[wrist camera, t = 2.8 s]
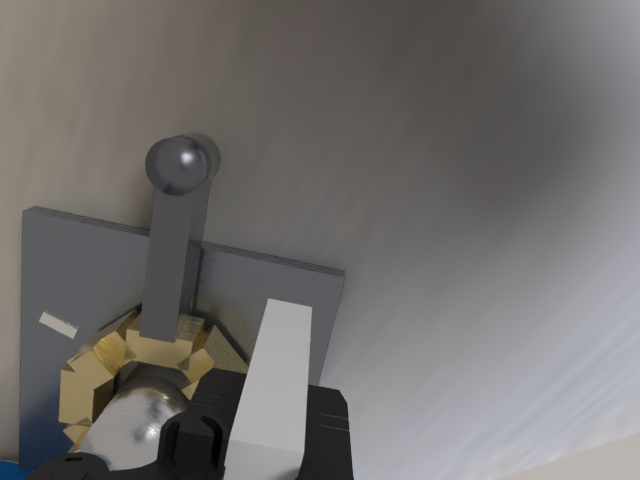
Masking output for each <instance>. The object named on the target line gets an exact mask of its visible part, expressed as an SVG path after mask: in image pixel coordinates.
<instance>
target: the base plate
mask: <svg viewBox="0 0 640 480" xmlns="http://www.w3.org/2000/svg"><path fill="white" fill-rule="evenodd" d="M149 237H150V230H146V229H142V228H137V227H132V226H127V225H122V224H118V223H113V222H108V221H103V220H99V219H94V218H89V217H84V216H79V215H75V214H70V213H65V212H60V211H55V210H51V209H46V208H41V207H36V206H34V207H32V208H29V209H26V210H23V222H22V291H21V361H20V430H19V468H20V469H26V470H31V471H35V470H36V469H37V468H38V467H39V466H41V465H42V464H44V463H46V462H47V461H49V460H50V459H52V458H54V457H57V456H60V455H63V454H66V453H68V451H69V450H70V449H71V447H72V446H73V445H74V442H73V441H72V440H71V439H70V438H69V437H68V436H67V435H66V434H65V433H64V432H63V430H64V429H65V427H66V426H67V425H68V423H63V422H59V405H60V384H61V370H62V368H63V367H64V366H65V365H66V364H67V362H66V361H67V360H68V359H69V358H70V357H71V356H72V355H73V354H74V353H75V352H76V351H77V350H78V349H79V348H80V347H81V346H82V345H83V344H84V343H85V342H86V341H87V340H88V339H89V338H90V337H91V336H93V335H95V334H96V333H98V332H99V331H101V330H103V329H104V328H106V327H107V326H109V325H110V324H112V323H114V322H115V321H117V320H118V319H120V318H122V317H123V316H125V315H126V314H128V313H130V312H131V311H133V310H134V309H136V310H137V312H138V313H139V314H140V313H141V312H142V303H143V294H144V284H145V275H146V265H147V256H148V247H149ZM344 280H345V273H344V271H342V270H338V269H333V268H328V267H323V266H319V265H314V264H309V263H304V262H299V261H295V260H290V259H285V258H280V257H276V256H271V255H266V254H261V253H256V252H252V251H247V250H242V249H237V248H232V247H228V246H223V245H218V244H213V243H209V242H204V241H202V245H201V252H200V259H199V266H198V273H197V280H196V287H195V294H194V301H193V308H192V315H191V316H192V317H197V318H202V319H205V324H204V330H203V331H205V330H207V329H208V328H210V327H212V326H213V325H215V326H216V327H217V328H218V330H219V331H220V332H221V333H222V335H223V336H224V337H225V338H226V340H227V341H228V342H229V343H230V345H231V346H232V347H233V349H234V350H235V351H236V352H237V354H238V355H239V356H240V357H241V359H242V360H243V361H244V362H245V364H246V365H247V366H248V368H249V366H250V363H251V359H252V355H253V352H254V348H255V345H256V341H257V338H258V334H259V330H260V327H261V323H262V320H263V316H264V312H265V309H266V305H267V302H268V298H270V299H275V300H280V301H284V302H289V303H294V304H299V305H304V306H309V307H312V315H311V334H310V352H309V371H308V384H310V385H315V386H318V383H319V379H320V375H321V371H322V367H323V363H324V359H325V355H326V351H327V347H328V343H329V339H330V335H331V331H332V327H333V323H334V319H335V315H336V311H337V308H338V304H339V300H340V296H341V292H342V288H343V284H344ZM186 380H187V376H186V375H185V374H184V373H183V372H182V371H181V370H180V369H175V368H170V367H165V366H159V365H154V364H149V363H144V362H139V361H134V360H131V361H129V362H128V363H126V364H124V365H123V366H122V367H121V369H120V370H119V371H118V373H117V374H116V375H115V377H114V382H113V394H114V397H113V398H112V399H111V401H110V402H109V403H108V405H107V406H106V408H105V409H104V410H103V412H102V413H101V415H100V416H99V417H98V419H97V420H96V422H95V423H94V424H93V426H92V427H91V429H90V430H89V431H88V433H87V434H86V435H85V437H84V438H83V440H82V442H81V444H80V447H79V452H85V453H90V454H94V455H97V456H98V457H100V458H101V459H102V460H104V461H105V462H106V464H107V466H108V468H109V470H110V471H113V470H124V469H132V468H137V467H142V466H144V465H147V464H150V463H152V462H154V461H155V460H157V453H158V445H159V438H160V430H161V427H162V426H163V424H164V423H165V422H166V421H167V420H168V419H169V418H171V417H173V416H174V415H176V414H178V413H182V412H186V409H187V407H188V405H189V404H190V400H189V399H188V398H187V397H186V395H185V394H184V393H183V392H182V391H181V390H182V388H183V386H184V384H185V382H186Z"/></svg>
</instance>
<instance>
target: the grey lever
mask: <svg viewBox="0 0 640 480" xmlns="http://www.w3.org/2000/svg"><path fill="white" fill-rule="evenodd" d="M220 162H221V157H220V152H219V149H218V147H217V146H216V144H215V143H214V142H213V141H212V140H211V139H210V138H209V137H207V136H206V135H203V134H200V133H188V134H184V135H180V136H175V137H171V138H167V139H163V140H161V141H159V142H157V143H155V144H154V145H153V146H152V147H151V148H150V150H149V152H148V154H147V157H146V161H145V167H146V172H147V175H148V177H149V179H150V181H151V183H152V184H153V185H154V186H155V190H154V199H153V209H152V218H151V228H150V237H149V247H148V256H147V265H146V275H145V284H144V294H143V303H142V312H141V313H140V314H139V313H138V312H137V310H136V309H134V310H133V311H131V312H130V313H128V314H126V315H125V316H123V317H122V318H120V319H118V320H117V321H115V322H114V323H112V324H110V325H109V326H107V327H106V328H104V329H103V330H101V331H99V332H98V333H96V334H95V335H93V336H91V337H90V338H89V339H88V340H87V341H86V342H85V343H84V344H83V345H82V346H81V347H80V348H79V349H78V350H77V351H76V352H75V353H74V354H73V355H72V356H71V357H70V358H69V359H68V360H67V361H66V362H67V364H66V365H65V366H64V367H63V368H62V370H61V384H60V405H59V422H63V423H68V425H67V426H66V427H65V429H64V430H63V432H64V433H65V434H66V435H67V436H68V437H69V438H70V439H71V440H72V441H73V442H74V445H73V446H72V447H71V449H70V450H69V451H68V453H75V452H79V447H80V444H81V442H82V440H83V438H84V437H85V435H86V434H87V433H88V431H89V430H90V429H91V427H92V426H93V424H94V423H95V422H96V420H97V419H98V417H99V416H100V415H101V413H102V412H103V410H104V409H105V408H106V406H107V405H108V403H109V402H110V401H111V399H112V398H113V397H114V394H113V382H114V377H115V375H116V374H117V373H118V371H119V370H120V369H121V367H122V366H123V365H124V364H126V363H128V362H129V361H131V360H134V361H139V362H144V363H149V364H154V365H159V366H165V367H170V368H175V369H180V370H181V371H182V372H183V373H184V374H185V375H186V376H187V380H186V382H185V384H184V386H183V388H182V390H181V391H182V392H183V393H184V394H185V395H186V397H187V398H188V399H189V400H191V398H192V396H193V394H194V392H195V389H196V387H197V385H198V382H199V380H200V378H201V377H202V376H203V375H204V374H206V373H207V372H208V371H209V370H211V369H212V368H219V369H224V370H229V371H234V372H240V373H245V374H247V373H248V370H249V368H248V366H247V365H246V364H245V362H244V361H243V360H242V359H241V357H240V356H239V355H238V354H237V352H236V351H235V350H234V349H233V347H232V346H231V345H230V343H229V342H228V341H227V340H226V338H225V337H224V336H223V335H222V333H221V332H220V331H219V330H218V328H217V327H216V326H215V325H213V326H212V327H210V328H208V329H207V330H205V331H203V330H204V324H205V319H202V318H197V317H192V316H191V315H192V308H193V301H194V294H195V287H196V280H197V273H198V266H199V259H200V252H201V245H202V238H203V231H204V224H205V217H206V210H207V203H208V196H209V189H210V182H211V178H212V177H213V176H214V175H215V174H216V173H217V171H218V170H219V167H220Z"/></svg>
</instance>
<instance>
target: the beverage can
mask: <svg viewBox="0 0 640 480" xmlns="http://www.w3.org/2000/svg"><path fill="white" fill-rule="evenodd" d="M32 472H33V471H31V470H26V469H20V468H19V462H18V461H12V460H0V480H24V479H25V478H26V477H28V476H29V475H30V474H31V473H32Z"/></svg>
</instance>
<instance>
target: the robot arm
mask: <svg viewBox="0 0 640 480" xmlns="http://www.w3.org/2000/svg"><path fill="white" fill-rule="evenodd" d="M311 315H312V307H309V306H304V305H299V304H294V303H289V302H284V301H280V300H275V299H270V298H268V302H267V305H266V309H265V312H264V316H263V320H262V323H261V327H260V330H259V334H258V338H257V341H256V345H255V348H254V352H253V355H252V359H251V363H250V366H249V370H248V373H247V374H245V373H240V372H234V371H229V370H224V369H219V368H212V369H211V370H209V371H208V372H207V373H206V374H204V375H203V376H202V377H201V378H200V380H199V382H198V385H197V387H196V389H195V392H194V394H193V396H192V398H191V400H190V404H189V405H188V407H187V409H186V412H182V413H178V414H176V415H174V416H173V417H171V418H169V419H168V420H167V421H166V422H165V423H164V424H163V426H162V427H161V430H160V438H159V445H158V453H157V460H155V461H154V462H152V463H150V464H147V465H144V466H142V467H137V468H132V469H124V470H113V471H110V470H109V468H108V466H107V464H106V462H105V461H104V460H102V459H101V458H100V457H98V456H97V455H94V454H90V453H85V452H75V453H66V454H63V455H60V456H57V457H54V458H52V459H50V460H49V461H47V462H46V463H44V464H42V465H41V466H39V467H38V468H37V469H36V470H35V471H33V472H32V473H31V474H30V475H29V476H28V477H26V478H25V479H24V480H354V478H353V469H352V457H351V444H350V432H349V420H348V407H347V402H346V401H345V399H344V397H343V396H342V394H341V393H340V391H339V390H336V389H331V388H325V387H320V386H315V385H310V384H308V371H309V352H310V334H311Z"/></svg>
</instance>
